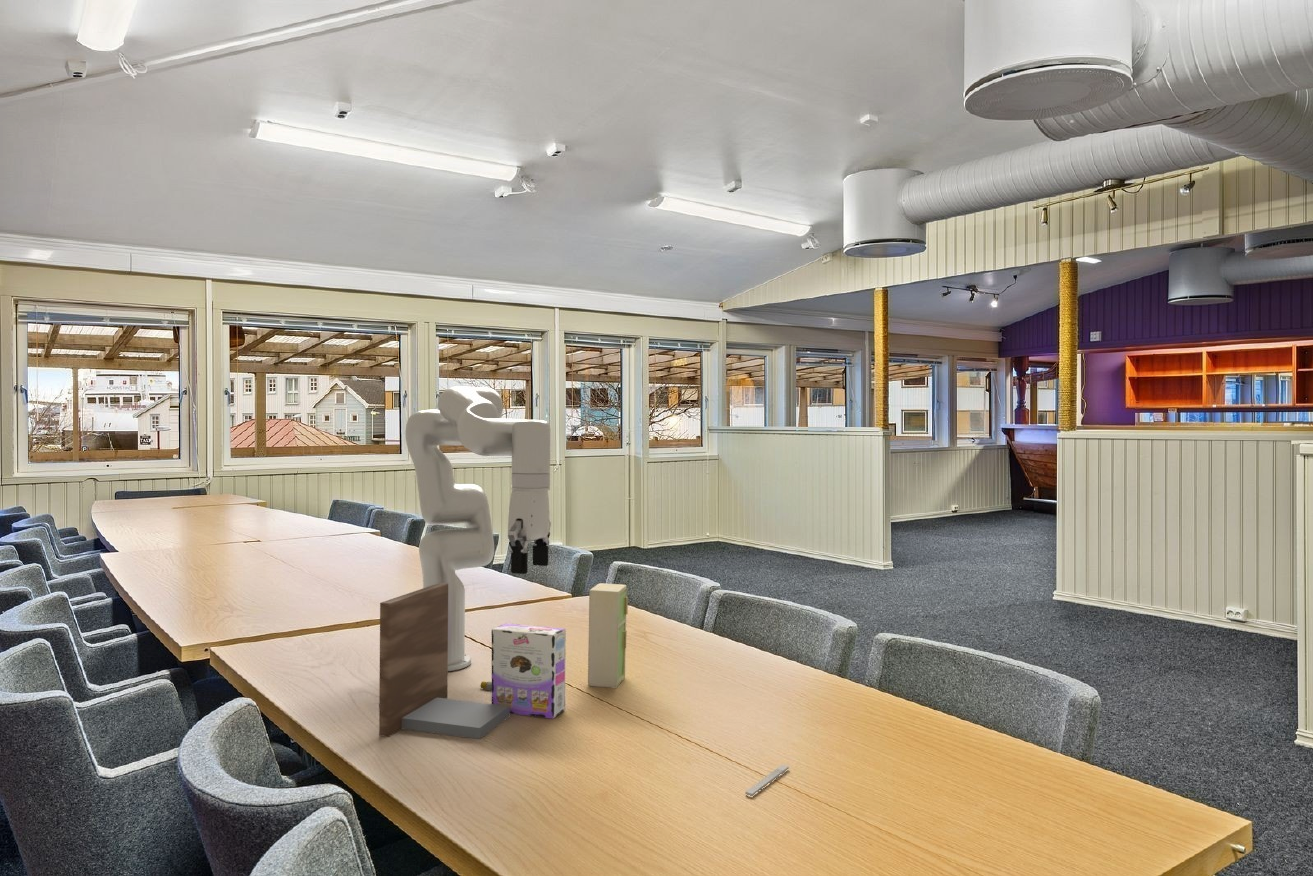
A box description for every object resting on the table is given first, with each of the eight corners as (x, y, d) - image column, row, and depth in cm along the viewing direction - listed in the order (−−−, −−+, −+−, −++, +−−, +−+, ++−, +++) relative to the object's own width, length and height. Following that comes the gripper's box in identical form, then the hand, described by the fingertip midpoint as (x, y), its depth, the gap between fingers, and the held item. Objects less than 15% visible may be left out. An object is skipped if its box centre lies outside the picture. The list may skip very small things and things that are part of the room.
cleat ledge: (401, 728, 149) (401, 718, 149) (436, 707, 161) (436, 697, 161) (479, 739, 145) (479, 728, 145) (509, 716, 156) (509, 706, 156)
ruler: (751, 800, 123) (752, 793, 123) (745, 798, 123) (745, 791, 123) (788, 772, 133) (788, 766, 133) (782, 770, 134) (782, 764, 134)
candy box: (566, 710, 160) (567, 627, 160) (553, 720, 154) (554, 634, 154) (504, 702, 164) (505, 621, 164) (489, 711, 159) (490, 628, 159)
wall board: (379, 735, 146) (380, 602, 145) (438, 700, 165) (439, 582, 165) (388, 736, 145) (389, 603, 145) (447, 701, 164) (448, 583, 164)
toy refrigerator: (620, 689, 173) (621, 591, 173) (587, 686, 175) (588, 589, 175) (628, 677, 181) (629, 584, 181) (597, 675, 183) (598, 582, 182)
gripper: (531, 479, 168) (531, 561, 168) (492, 484, 152) (492, 575, 152) (565, 480, 166) (564, 563, 166) (529, 485, 150) (528, 578, 150)
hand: (530, 569), depth 159 cm, fingers open, 9 cm apart
